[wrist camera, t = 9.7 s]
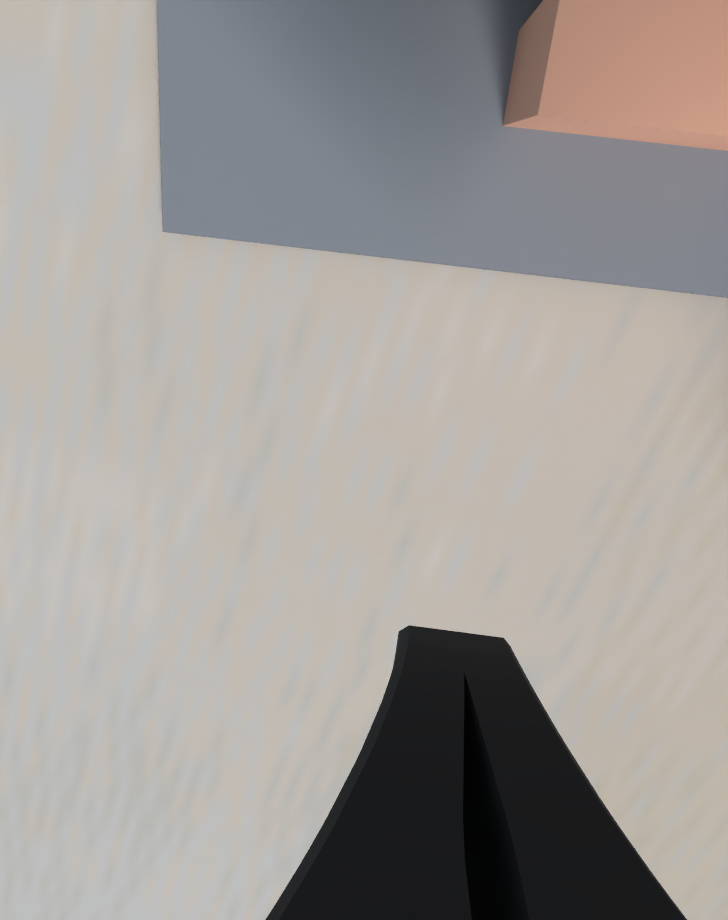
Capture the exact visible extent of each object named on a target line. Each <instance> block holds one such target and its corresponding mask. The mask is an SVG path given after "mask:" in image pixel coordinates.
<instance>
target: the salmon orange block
mask: <svg viewBox="0 0 728 920" xmlns="http://www.w3.org/2000/svg"><path fill="white" fill-rule="evenodd" d="M503 126H507V127H516V128H525V129H534V130H543V131H552V132H561V133H570V134H579V135H588V136H597V137H606V138H616V139H625V140H634V141H643V142H652V143H661V144H670V145H679V146H688V147H697V148H706V149H715V150H724V151H728V0H543V1H542V2H541V4H540V5H539V6H538V7H537V9H536V10H535V11H534V12H533V14H532V15H531V16H530V17H529V19H528V20H527V21H526V22H525V24H524V25H523V26H522V27H521V28H520V30H519V32H518V38H517V44H516V50H515V56H514V62H513V68H512V74H511V80H510V86H509V91H508V97H507V103H506V109H505V115H504V121H503Z"/></svg>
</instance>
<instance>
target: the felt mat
mask: <svg viewBox="0 0 728 920" xmlns="http://www.w3.org/2000/svg"><path fill="white" fill-rule="evenodd" d="M542 1H543V0H157V23H158V64H159V104H160V145H161V185H162V226H163V232H169V233H177V234H186V235H194V236H203V237H211V238H220V239H229V240H237V241H246V242H254V243H263V244H271V245H280V246H289V247H297V248H306V249H314V250H323V251H331V252H340V253H349V254H357V255H366V256H374V257H383V258H391V259H400V260H409V261H417V262H426V263H434V264H443V265H451V266H460V267H468V268H477V269H486V270H494V271H503V272H511V273H520V274H528V275H537V276H546V277H554V278H563V279H571V280H580V281H588V282H597V283H606V284H614V285H623V286H631V287H640V288H648V289H657V290H666V291H674V292H683V293H691V294H700V295H708V296H717V297H725V298H728V151H724V150H715V149H706V148H697V147H688V146H679V145H670V144H661V143H652V142H643V141H634V140H625V139H616V138H606V137H597V136H588V135H579V134H570V133H561V132H552V131H543V130H534V129H525V128H516V127H507V126H503V121H504V115H505V109H506V103H507V97H508V91H509V86H510V80H511V74H512V68H513V62H514V56H515V50H516V44H517V38H518V32H519V30H520V28H521V27H522V26H523V25H524V24H525V22H526V21H527V20H528V19H529V17H530V16H531V15H532V14H533V12H534V11H535V10H536V9H537V7H538V6H539V5H540V4H541V2H542Z"/></svg>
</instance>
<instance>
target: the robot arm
mask: <svg viewBox="0 0 728 920" xmlns="http://www.w3.org/2000/svg"><path fill="white" fill-rule="evenodd" d="M266 920H687V919H686V918H685V917H684V915H683V914H682V913H681V911H680V910H679V909H678V907H677V906H676V905H675V903H674V902H673V901H672V899H671V898H670V897H669V895H668V894H667V893H666V891H665V890H664V889H663V887H662V886H661V885H660V883H659V882H658V881H657V879H656V878H655V877H654V875H653V874H652V872H651V871H650V870H649V868H648V867H647V865H646V864H645V863H644V861H643V860H642V858H641V857H640V856H639V854H638V853H637V851H636V850H635V848H634V847H633V846H632V844H631V843H630V841H629V840H628V839H627V837H626V836H625V834H624V833H623V831H622V830H621V829H620V827H619V826H618V824H617V823H616V821H615V820H614V818H613V817H612V815H611V814H610V812H609V811H608V809H607V808H606V806H605V805H604V803H603V802H602V801H601V799H600V798H599V796H598V794H597V793H596V791H595V790H594V788H593V787H592V785H591V783H590V782H589V780H588V779H587V777H586V776H585V774H584V772H583V771H582V769H581V768H580V766H579V765H578V763H577V762H576V760H575V758H574V757H573V755H572V754H571V752H570V751H569V749H568V747H567V746H566V744H565V742H564V741H563V739H562V737H561V736H560V734H559V733H558V731H557V729H556V728H555V726H554V724H553V722H552V721H551V719H550V717H549V716H548V714H547V712H546V710H545V709H544V707H543V705H542V704H541V702H540V700H539V698H538V697H537V695H536V693H535V691H534V689H533V688H532V686H531V684H530V682H529V680H528V679H527V677H526V675H525V673H524V671H523V669H522V668H521V666H520V664H519V662H518V660H517V658H516V656H515V654H514V653H513V651H512V649H511V647H510V645H509V644H508V643H507V642H506V640H505V639H504V638H500V637H492V636H485V635H477V634H470V633H462V632H454V631H447V630H439V629H432V628H424V627H416V626H407V627H406V628H404V629H402V630H401V631H399V634H398V641H397V647H396V654H395V660H394V666H393V670H392V673H391V677H390V680H389V683H388V686H387V688H386V691H385V694H384V697H383V700H382V703H381V705H380V707H379V710H378V712H377V715H376V717H375V719H374V722H373V724H372V726H371V729H370V731H369V733H368V736H367V738H366V740H365V743H364V745H363V747H362V750H361V752H360V754H359V756H358V758H357V760H356V762H355V764H354V766H353V768H352V770H351V772H350V774H349V776H348V778H347V780H346V782H345V784H344V786H343V788H342V789H341V791H340V793H339V795H338V797H337V799H336V801H335V803H334V805H333V807H332V809H331V811H330V813H329V815H328V817H327V818H326V820H325V822H324V824H323V826H322V827H321V829H320V831H319V833H318V834H317V836H316V838H315V840H314V842H313V843H312V845H311V847H310V849H309V850H308V852H307V854H306V855H305V857H304V859H303V860H302V862H301V864H300V865H299V867H298V869H297V870H296V872H295V874H294V875H293V877H292V879H291V880H290V882H289V883H288V885H287V887H286V888H285V890H284V892H283V893H282V895H281V896H280V898H279V900H278V901H277V903H276V904H275V906H274V908H273V909H272V911H271V912H270V914H269V915H268V917H267V918H266Z"/></svg>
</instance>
